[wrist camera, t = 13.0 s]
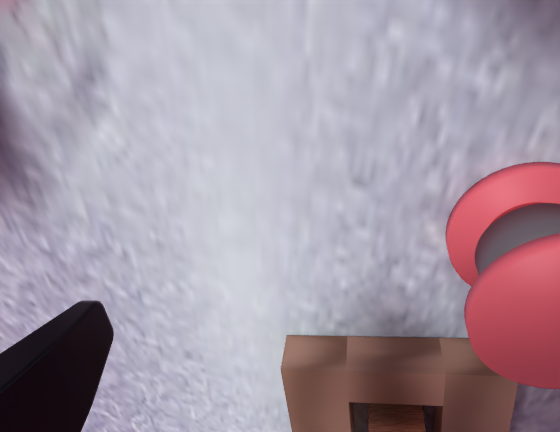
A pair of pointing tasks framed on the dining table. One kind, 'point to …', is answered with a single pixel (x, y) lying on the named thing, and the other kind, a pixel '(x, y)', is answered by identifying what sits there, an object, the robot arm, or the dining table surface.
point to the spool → (512, 270)
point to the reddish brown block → (395, 418)
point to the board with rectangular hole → (392, 382)
